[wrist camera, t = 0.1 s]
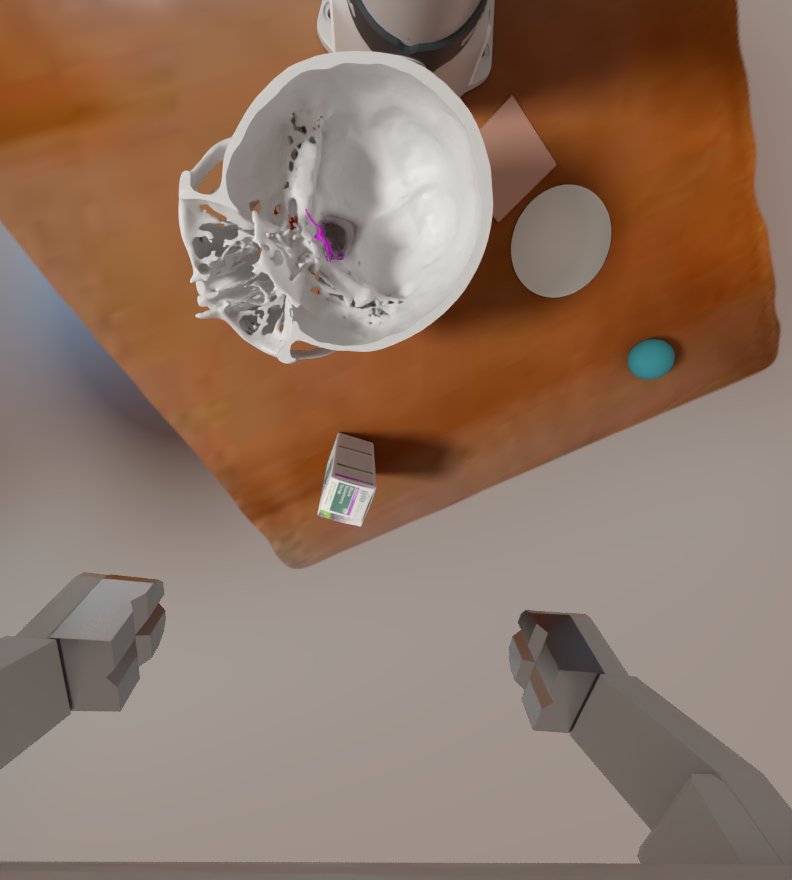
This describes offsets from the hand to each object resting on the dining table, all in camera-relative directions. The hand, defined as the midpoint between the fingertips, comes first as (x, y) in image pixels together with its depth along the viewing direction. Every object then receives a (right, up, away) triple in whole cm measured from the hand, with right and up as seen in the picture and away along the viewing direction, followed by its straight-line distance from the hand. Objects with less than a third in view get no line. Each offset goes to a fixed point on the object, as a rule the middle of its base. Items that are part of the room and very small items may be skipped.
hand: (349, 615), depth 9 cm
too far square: (+14, +37, +38) cm, 55 cm away
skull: (-5, +27, +41) cm, 49 cm away
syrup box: (-6, +2, +51) cm, 51 cm away
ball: (+36, +15, +45) cm, 60 cm away
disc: (+22, +29, +41) cm, 55 cm away
